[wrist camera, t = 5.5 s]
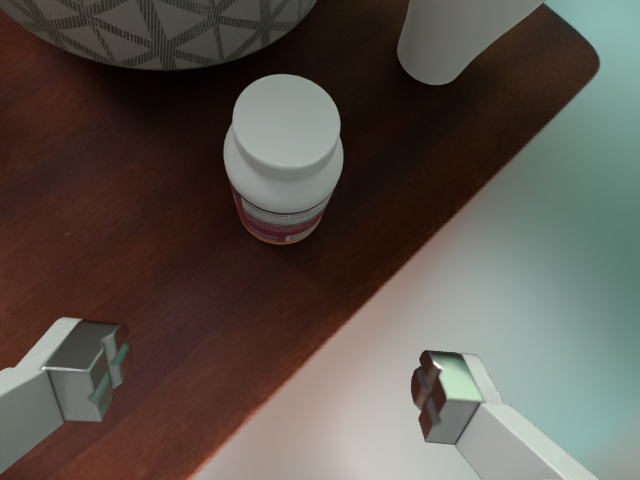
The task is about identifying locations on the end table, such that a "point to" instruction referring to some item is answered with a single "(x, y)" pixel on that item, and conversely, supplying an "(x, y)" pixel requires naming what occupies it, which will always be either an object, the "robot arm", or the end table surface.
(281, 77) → the pill bottle
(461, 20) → the cup
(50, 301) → the end table surface
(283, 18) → the planter
